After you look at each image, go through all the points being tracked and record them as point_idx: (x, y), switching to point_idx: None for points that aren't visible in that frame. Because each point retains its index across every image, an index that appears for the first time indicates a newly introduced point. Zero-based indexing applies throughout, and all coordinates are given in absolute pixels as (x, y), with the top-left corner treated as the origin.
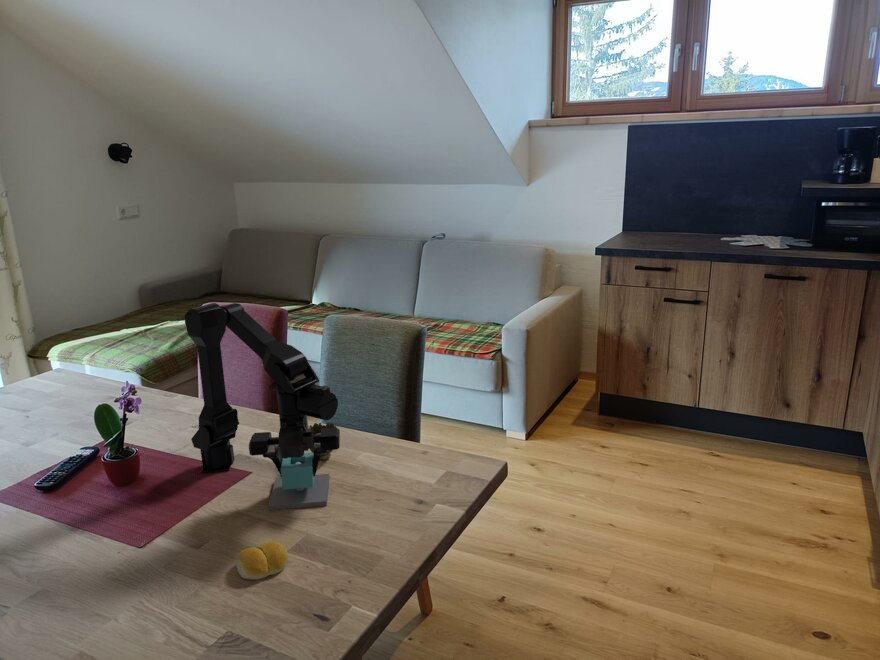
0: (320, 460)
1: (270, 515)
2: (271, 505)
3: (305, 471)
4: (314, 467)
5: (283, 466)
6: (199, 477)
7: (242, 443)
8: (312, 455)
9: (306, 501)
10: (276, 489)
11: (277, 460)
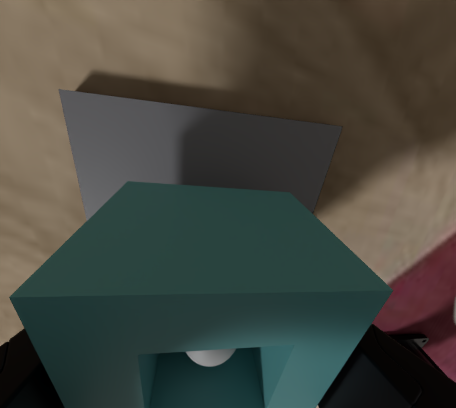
0: None
1: (333, 75)
2: (330, 125)
3: (131, 248)
4: None
5: (352, 319)
6: (432, 320)
7: None
8: None
9: (172, 117)
10: None
11: (427, 399)
